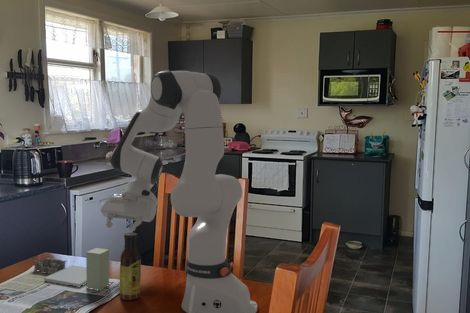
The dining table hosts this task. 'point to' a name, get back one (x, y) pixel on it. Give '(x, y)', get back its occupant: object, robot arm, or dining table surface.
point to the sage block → (97, 268)
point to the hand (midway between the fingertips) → (119, 228)
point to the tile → (69, 276)
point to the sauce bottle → (130, 268)
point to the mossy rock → (53, 263)
